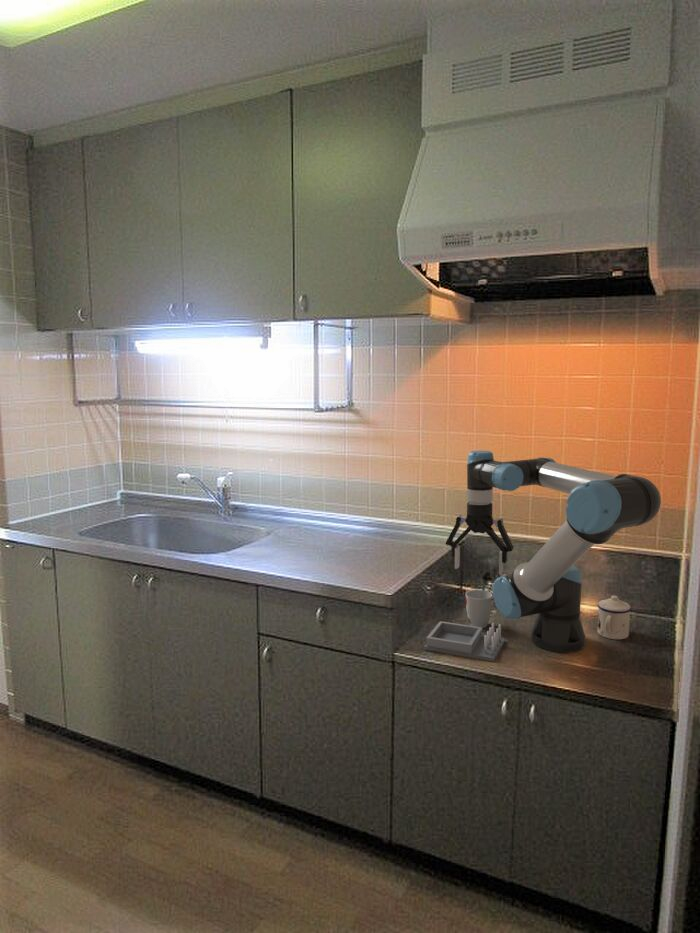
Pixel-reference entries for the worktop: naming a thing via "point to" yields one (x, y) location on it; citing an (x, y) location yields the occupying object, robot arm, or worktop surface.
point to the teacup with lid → (613, 618)
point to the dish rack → (465, 641)
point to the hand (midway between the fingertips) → (478, 570)
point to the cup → (478, 607)
